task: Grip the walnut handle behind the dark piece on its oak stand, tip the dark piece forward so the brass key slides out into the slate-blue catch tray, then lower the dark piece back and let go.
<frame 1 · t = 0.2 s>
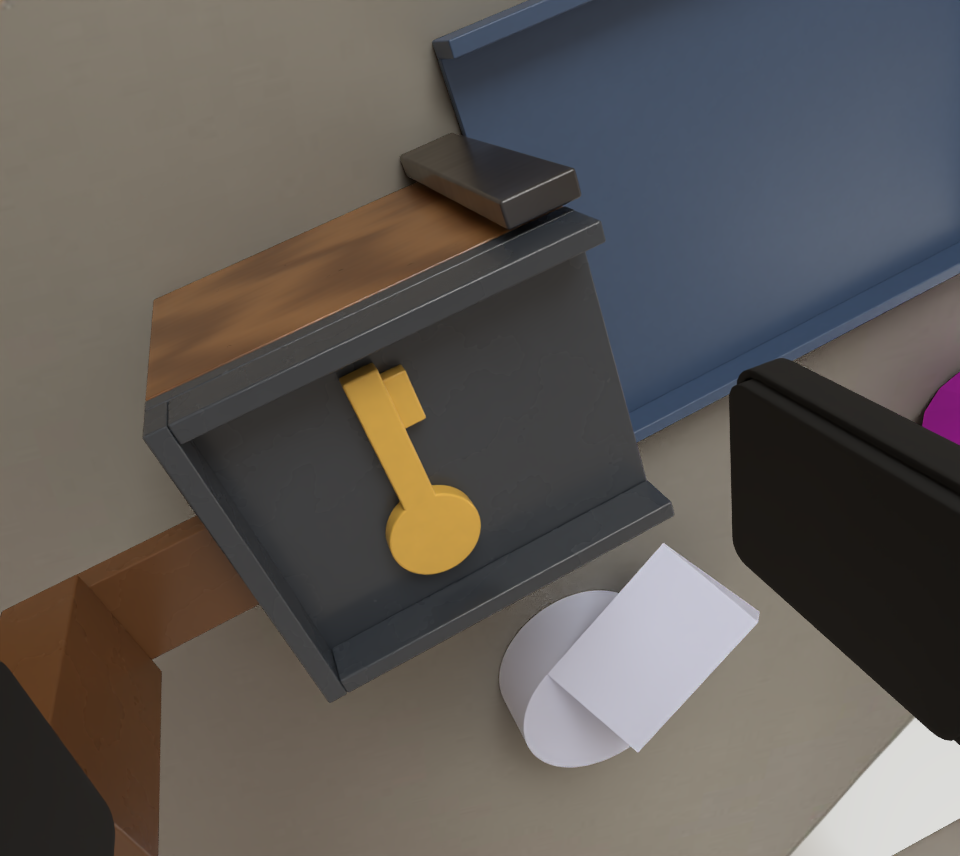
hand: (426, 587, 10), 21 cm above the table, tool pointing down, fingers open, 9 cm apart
dark piece: (372, 559, 19), point 13 cm above the table, hinge at 0.0°, touching key
key: (406, 474, 21), point 10 cm above the table, touching dark piece
catch tray: (755, 160, 32), on the table
wedge on round base: (596, 628, 42), on the table
stand: (365, 347, 30), on the table
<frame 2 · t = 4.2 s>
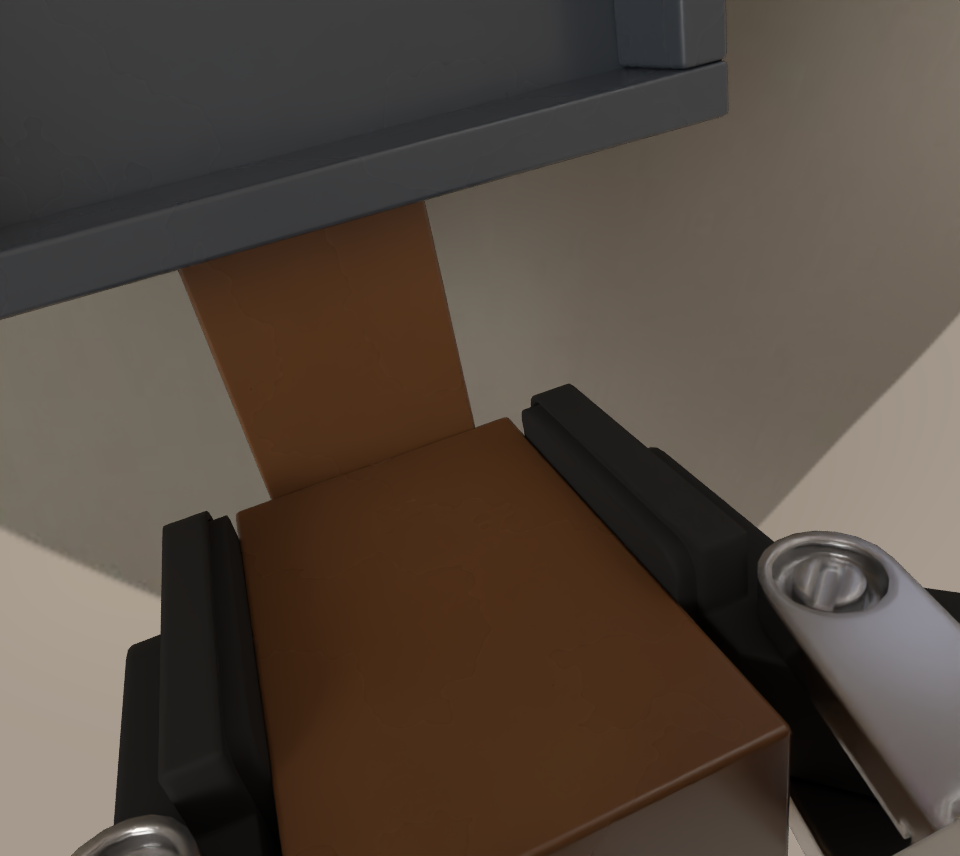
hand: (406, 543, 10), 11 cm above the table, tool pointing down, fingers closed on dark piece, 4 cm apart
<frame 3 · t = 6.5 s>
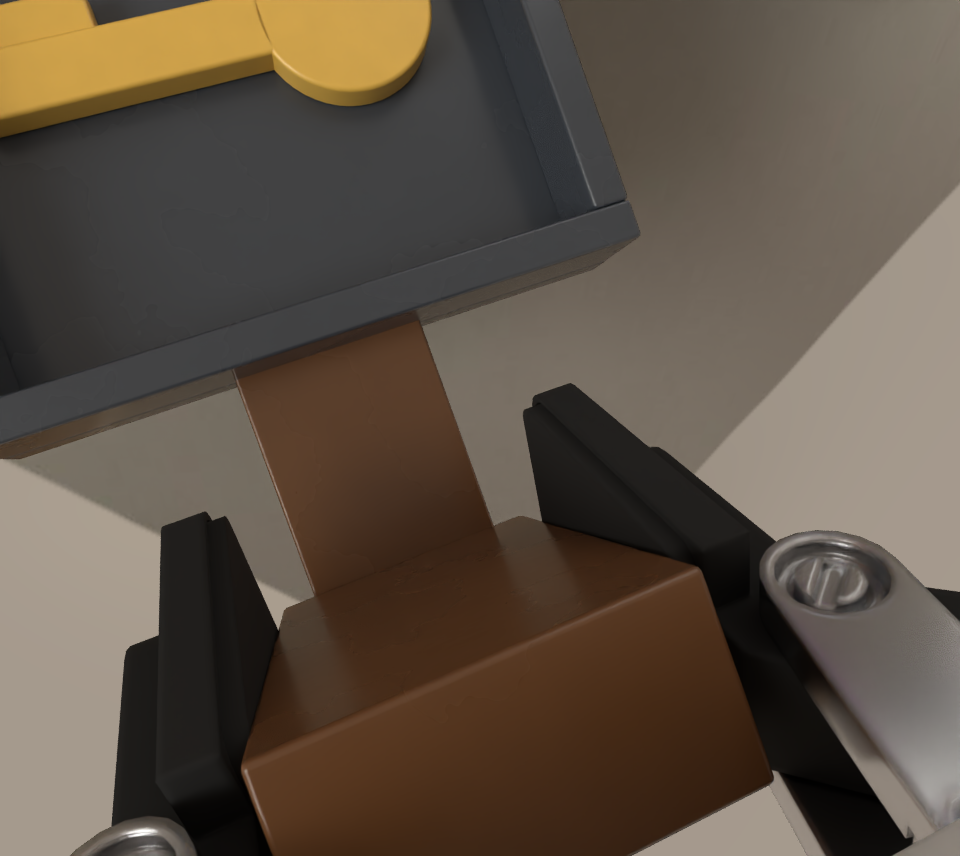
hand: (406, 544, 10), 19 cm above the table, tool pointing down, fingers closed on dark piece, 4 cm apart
dark piece: (238, 66, 9), point 16 cm above the table, hinge at 29.2°, touching gripper, key
key: (220, 52, 12), point 13 cm above the table, tilted 29°, touching dark piece
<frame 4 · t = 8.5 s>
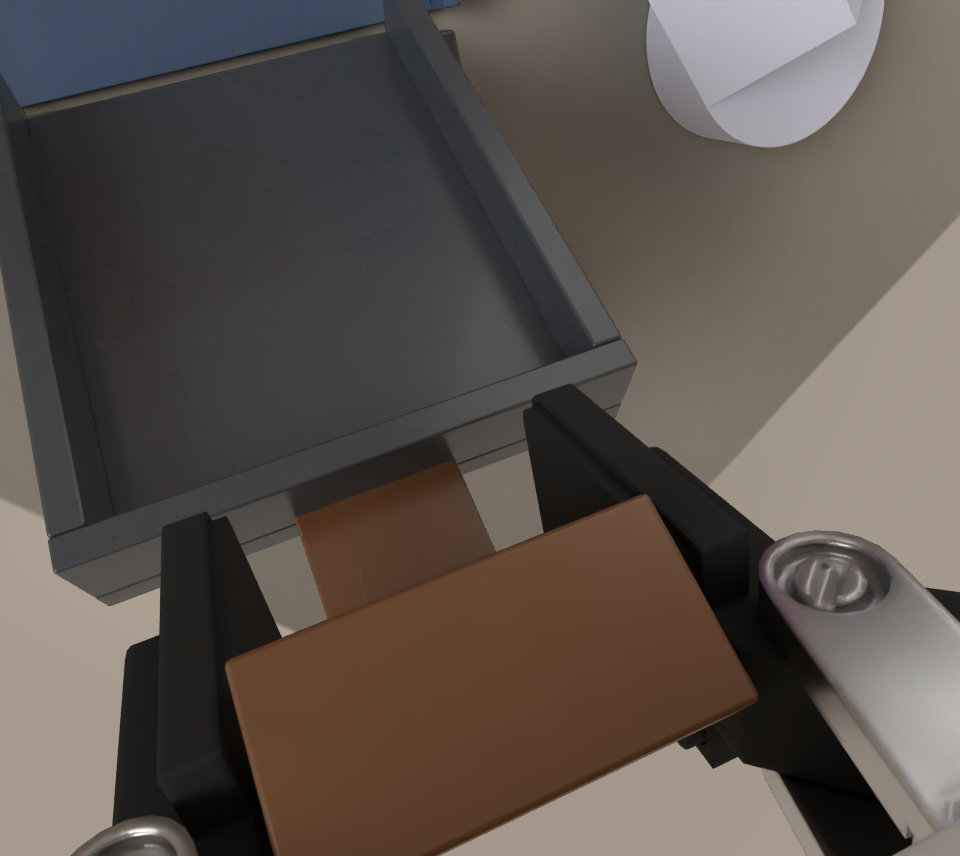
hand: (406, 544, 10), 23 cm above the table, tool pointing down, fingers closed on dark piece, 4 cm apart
dark piece: (296, 258, 12), point 18 cm above the table, hinge at 55.5°, touching gripper
stand: (265, 243, 30), on the table
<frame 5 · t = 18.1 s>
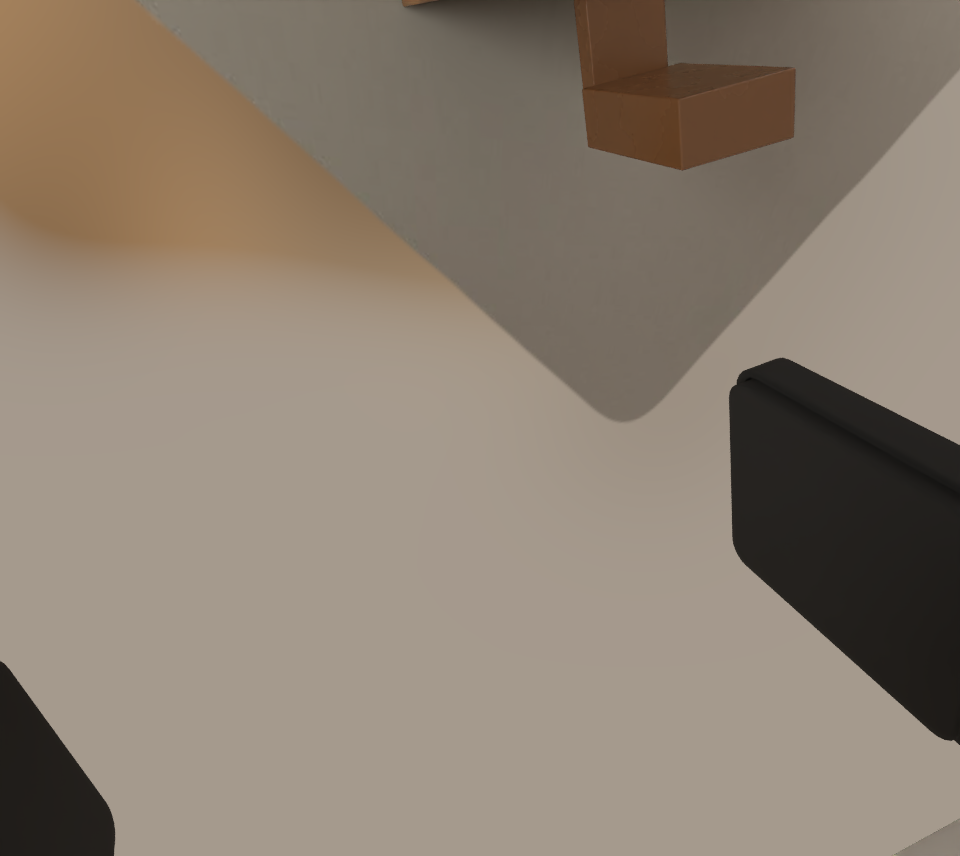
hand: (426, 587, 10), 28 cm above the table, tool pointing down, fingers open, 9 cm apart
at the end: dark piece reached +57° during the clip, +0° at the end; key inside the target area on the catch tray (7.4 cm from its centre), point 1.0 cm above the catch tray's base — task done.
